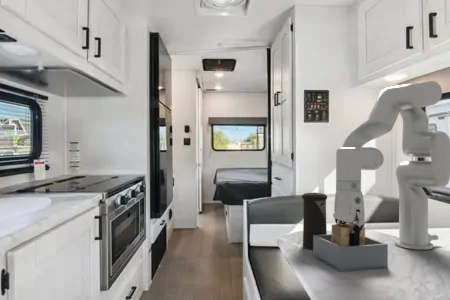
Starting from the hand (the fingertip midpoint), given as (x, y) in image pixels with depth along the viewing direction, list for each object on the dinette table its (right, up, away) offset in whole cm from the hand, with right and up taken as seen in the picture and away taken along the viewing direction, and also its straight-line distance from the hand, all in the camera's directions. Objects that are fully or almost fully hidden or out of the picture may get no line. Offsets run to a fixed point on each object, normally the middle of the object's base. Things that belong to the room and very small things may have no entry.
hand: (348, 242), depth 111 cm
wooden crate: (0, -1, 0) cm, 1 cm away
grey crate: (0, -6, 0) cm, 6 cm away
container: (-6, -6, +17) cm, 19 cm away
